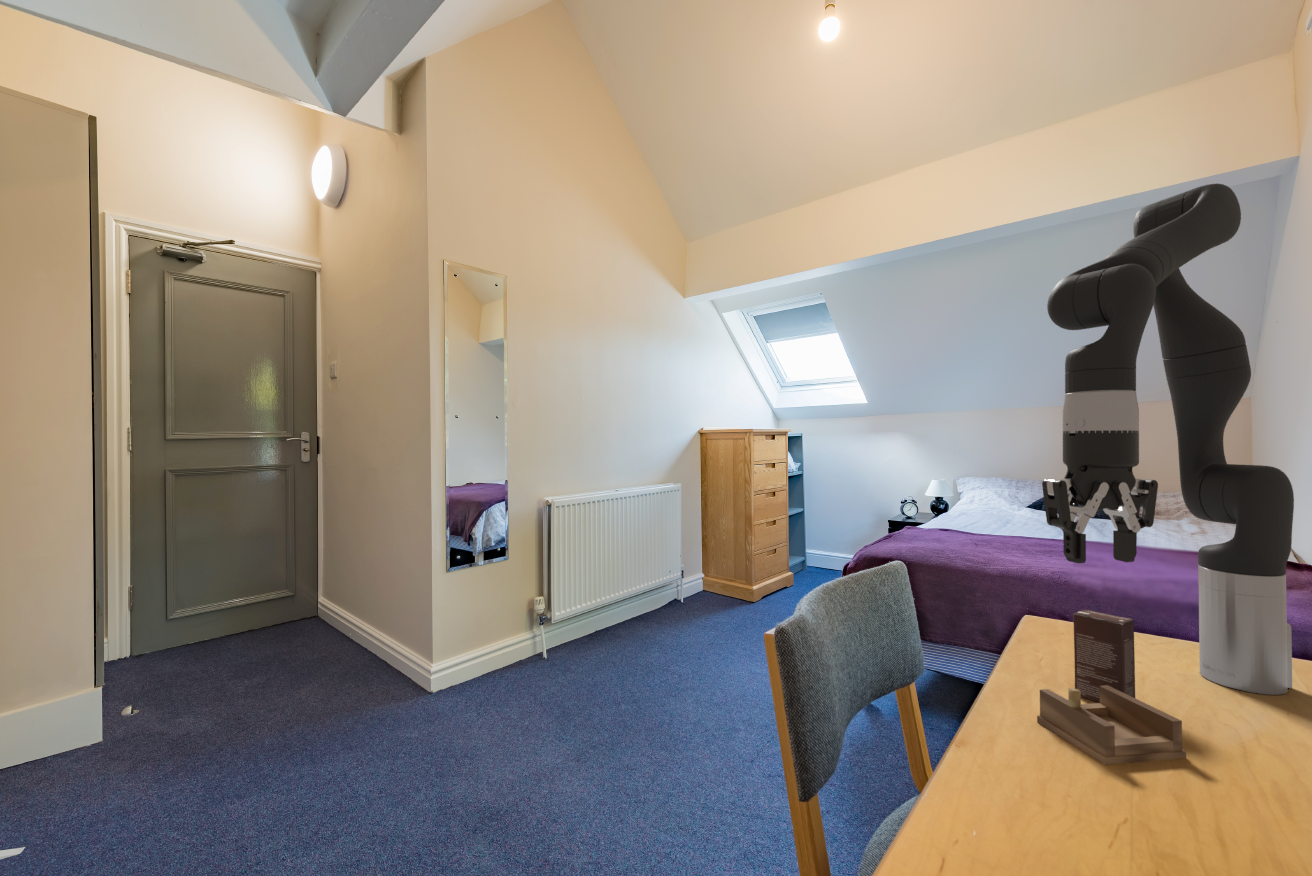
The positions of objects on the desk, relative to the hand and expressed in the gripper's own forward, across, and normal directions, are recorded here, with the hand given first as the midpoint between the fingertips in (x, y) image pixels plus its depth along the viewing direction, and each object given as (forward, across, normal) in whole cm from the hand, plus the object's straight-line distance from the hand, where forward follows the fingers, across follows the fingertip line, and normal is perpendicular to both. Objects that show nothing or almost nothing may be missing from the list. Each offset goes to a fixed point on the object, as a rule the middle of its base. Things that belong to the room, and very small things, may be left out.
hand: (1099, 561), depth 70 cm
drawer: (+22, 0, +1) cm, 22 cm away
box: (+22, -10, -9) cm, 26 cm away
